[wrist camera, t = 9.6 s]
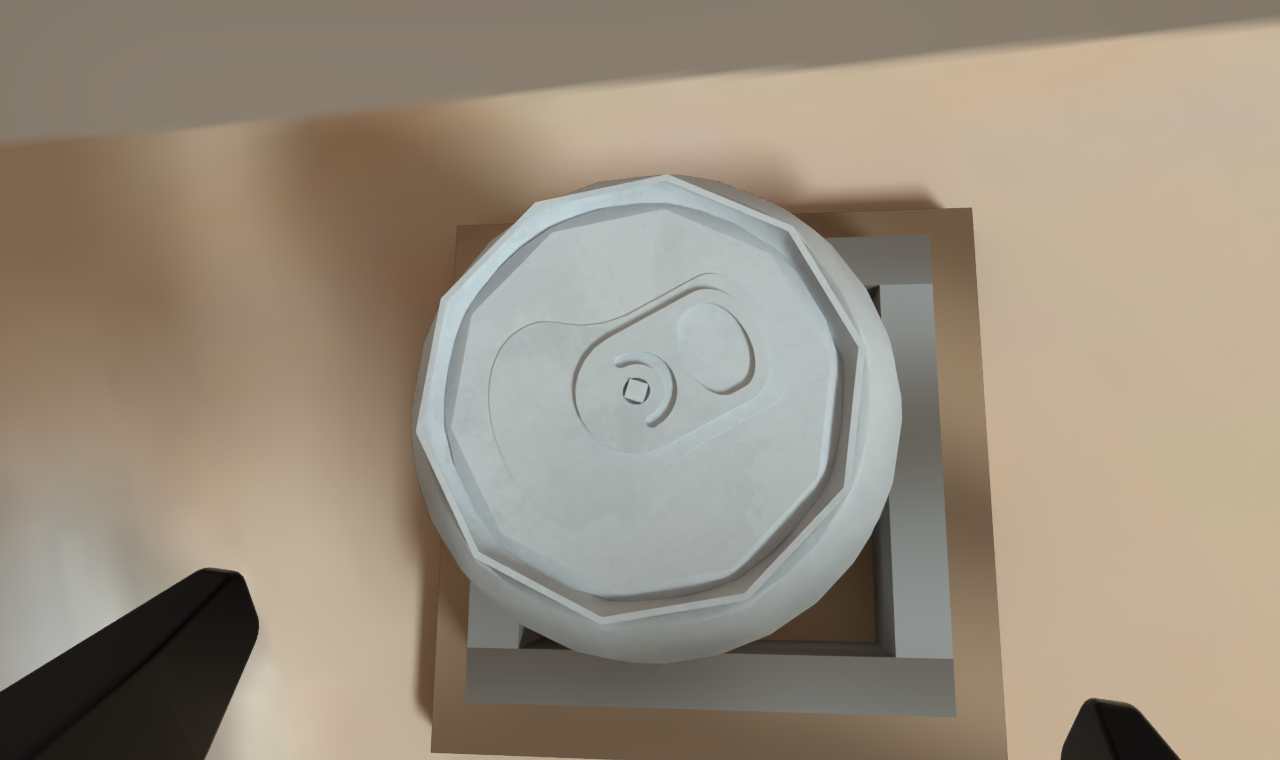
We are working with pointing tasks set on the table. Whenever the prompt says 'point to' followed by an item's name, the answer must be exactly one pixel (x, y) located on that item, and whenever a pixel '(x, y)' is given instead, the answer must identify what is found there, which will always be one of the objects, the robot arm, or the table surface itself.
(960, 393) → the socket board
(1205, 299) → the table surface
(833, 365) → the beer can
